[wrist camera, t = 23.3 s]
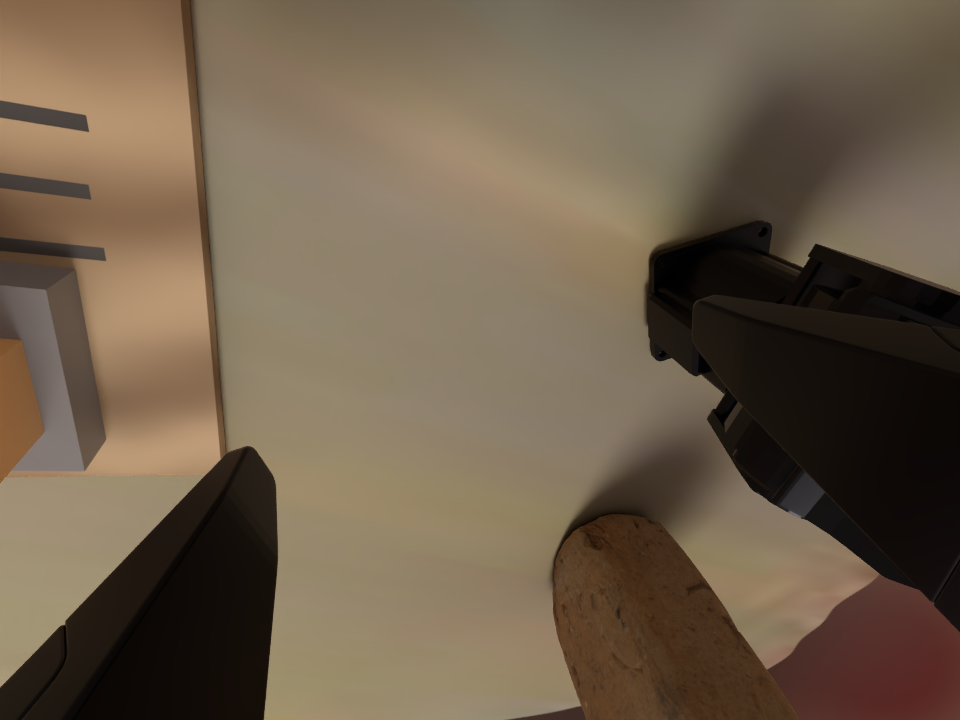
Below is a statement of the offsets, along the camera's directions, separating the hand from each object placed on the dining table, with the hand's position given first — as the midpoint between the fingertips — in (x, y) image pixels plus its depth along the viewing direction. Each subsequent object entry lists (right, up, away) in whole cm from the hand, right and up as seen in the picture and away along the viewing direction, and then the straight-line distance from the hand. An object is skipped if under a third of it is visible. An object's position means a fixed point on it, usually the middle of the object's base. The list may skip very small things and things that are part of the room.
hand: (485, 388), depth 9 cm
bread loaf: (+9, -14, +27) cm, 32 cm away
